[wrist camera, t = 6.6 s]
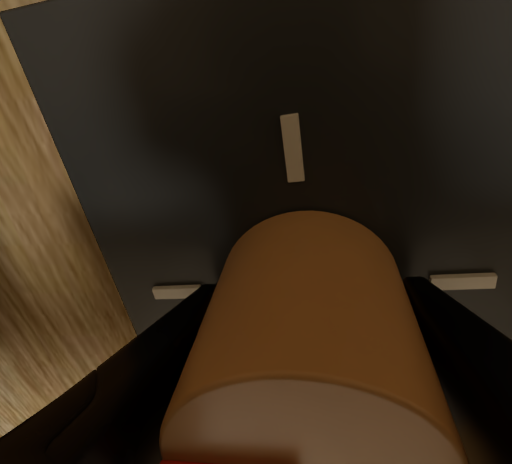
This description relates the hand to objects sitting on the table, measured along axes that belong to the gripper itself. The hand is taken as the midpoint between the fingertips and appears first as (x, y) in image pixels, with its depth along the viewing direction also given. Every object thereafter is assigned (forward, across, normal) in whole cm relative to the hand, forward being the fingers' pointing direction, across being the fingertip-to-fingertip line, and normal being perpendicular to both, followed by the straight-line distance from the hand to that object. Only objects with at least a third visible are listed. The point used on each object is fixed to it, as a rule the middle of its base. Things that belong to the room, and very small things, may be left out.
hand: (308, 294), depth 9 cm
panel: (+3, 0, 0) cm, 3 cm away
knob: (0, 0, 0) cm, 0 cm away
